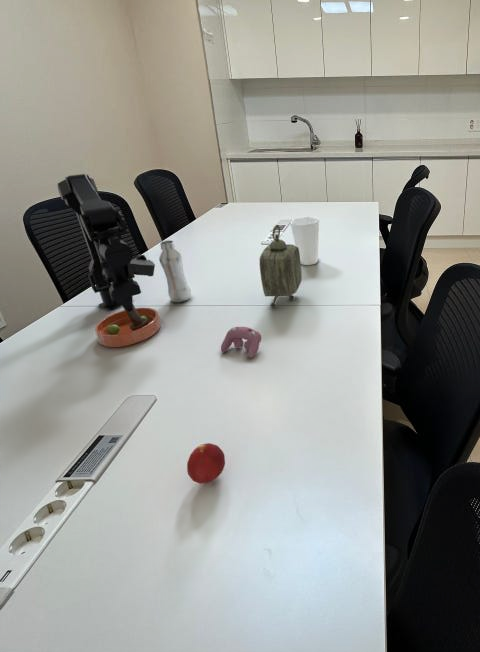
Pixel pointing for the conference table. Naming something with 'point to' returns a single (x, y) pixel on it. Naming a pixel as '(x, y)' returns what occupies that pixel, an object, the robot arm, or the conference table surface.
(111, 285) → the robot arm
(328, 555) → the conference table surface
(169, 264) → the plastic bottle
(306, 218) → the cup
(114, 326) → the olive
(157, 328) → the bowl
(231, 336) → the video game controller
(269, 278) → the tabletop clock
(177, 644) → the conference table surface
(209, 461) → the onion
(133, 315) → the brown bolt
